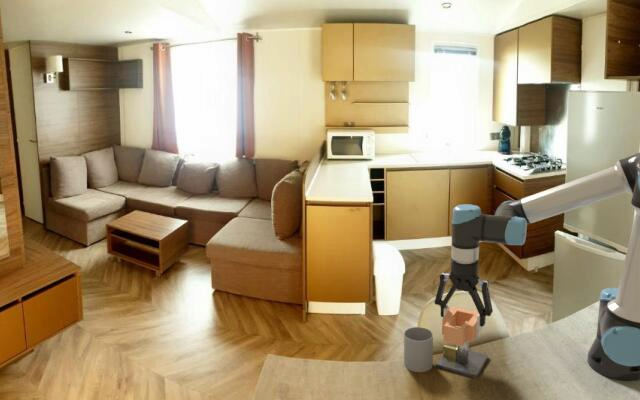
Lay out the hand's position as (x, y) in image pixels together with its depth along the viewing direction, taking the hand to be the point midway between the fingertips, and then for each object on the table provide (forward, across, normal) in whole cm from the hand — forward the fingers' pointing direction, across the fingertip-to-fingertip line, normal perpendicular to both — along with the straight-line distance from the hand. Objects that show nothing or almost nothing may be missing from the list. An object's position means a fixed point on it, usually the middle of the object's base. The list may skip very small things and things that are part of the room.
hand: (462, 331), depth 157 cm
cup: (+11, +11, +7) cm, 17 cm away
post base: (+10, 0, 0) cm, 10 cm away
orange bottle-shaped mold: (0, 0, +2) cm, 2 cm away
